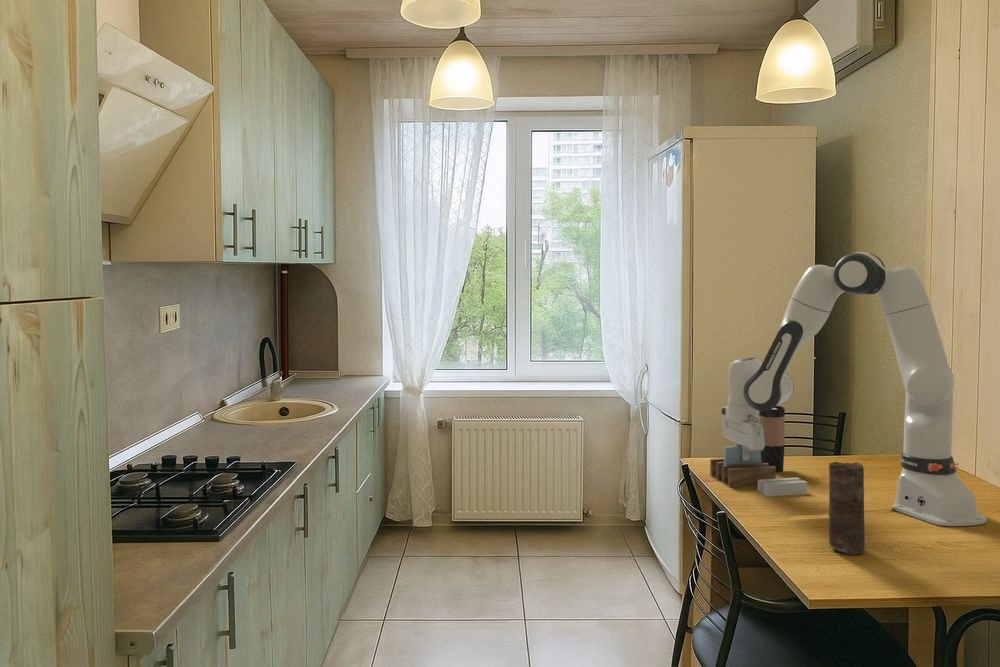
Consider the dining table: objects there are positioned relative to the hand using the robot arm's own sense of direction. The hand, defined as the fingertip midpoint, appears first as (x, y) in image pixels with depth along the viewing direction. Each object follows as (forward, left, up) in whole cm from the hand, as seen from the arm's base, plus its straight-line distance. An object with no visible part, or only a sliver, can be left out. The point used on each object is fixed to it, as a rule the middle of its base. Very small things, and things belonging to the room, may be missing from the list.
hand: (742, 459), depth 238 cm
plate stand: (-14, -5, -7) cm, 16 cm away
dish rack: (0, 0, -7) cm, 7 cm away
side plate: (0, 0, -5) cm, 5 cm away
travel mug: (+11, -15, -7) cm, 20 cm away
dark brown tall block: (-57, +3, -7) cm, 57 cm away
